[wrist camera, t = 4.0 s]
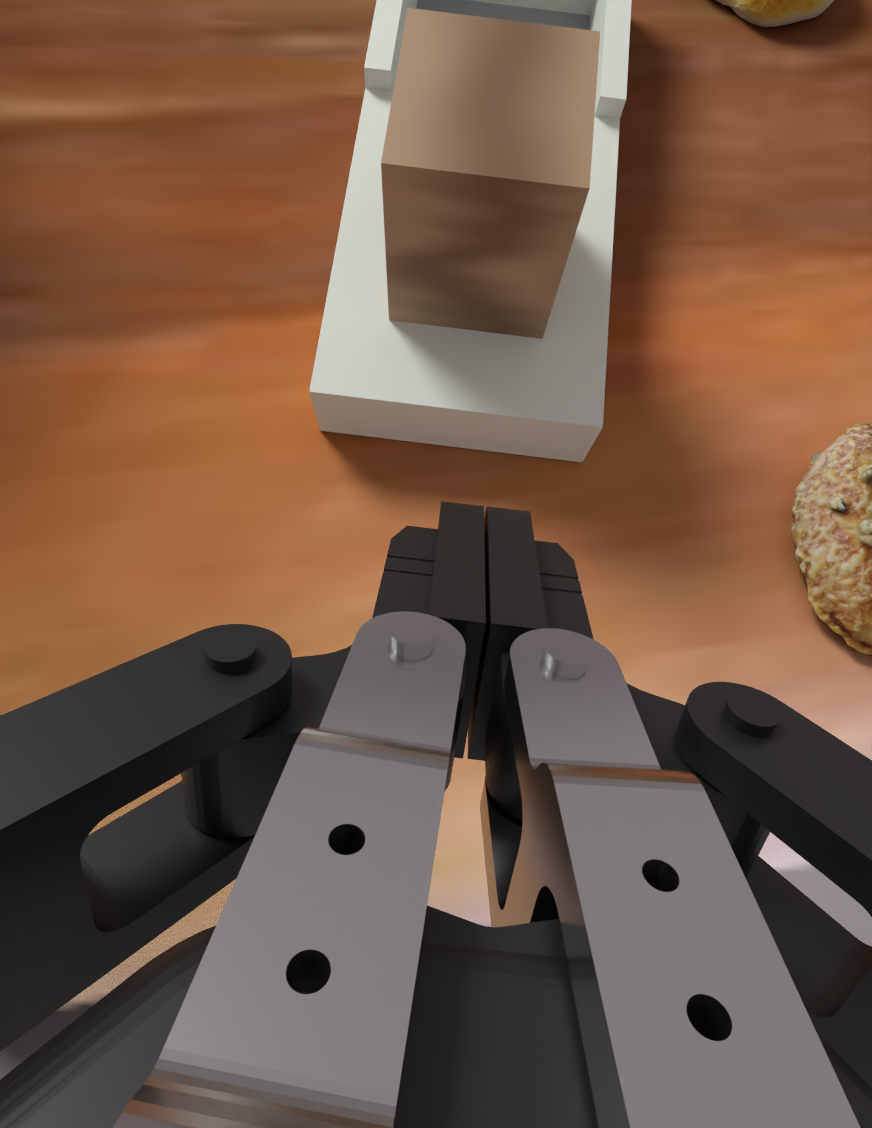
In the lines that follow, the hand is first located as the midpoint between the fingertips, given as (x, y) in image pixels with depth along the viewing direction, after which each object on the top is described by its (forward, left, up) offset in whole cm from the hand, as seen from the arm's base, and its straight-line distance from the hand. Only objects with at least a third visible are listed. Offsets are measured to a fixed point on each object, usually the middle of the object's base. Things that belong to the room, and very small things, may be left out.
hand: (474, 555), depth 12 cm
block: (-1, +17, -14) cm, 22 cm away
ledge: (-1, +18, -17) cm, 25 cm away
